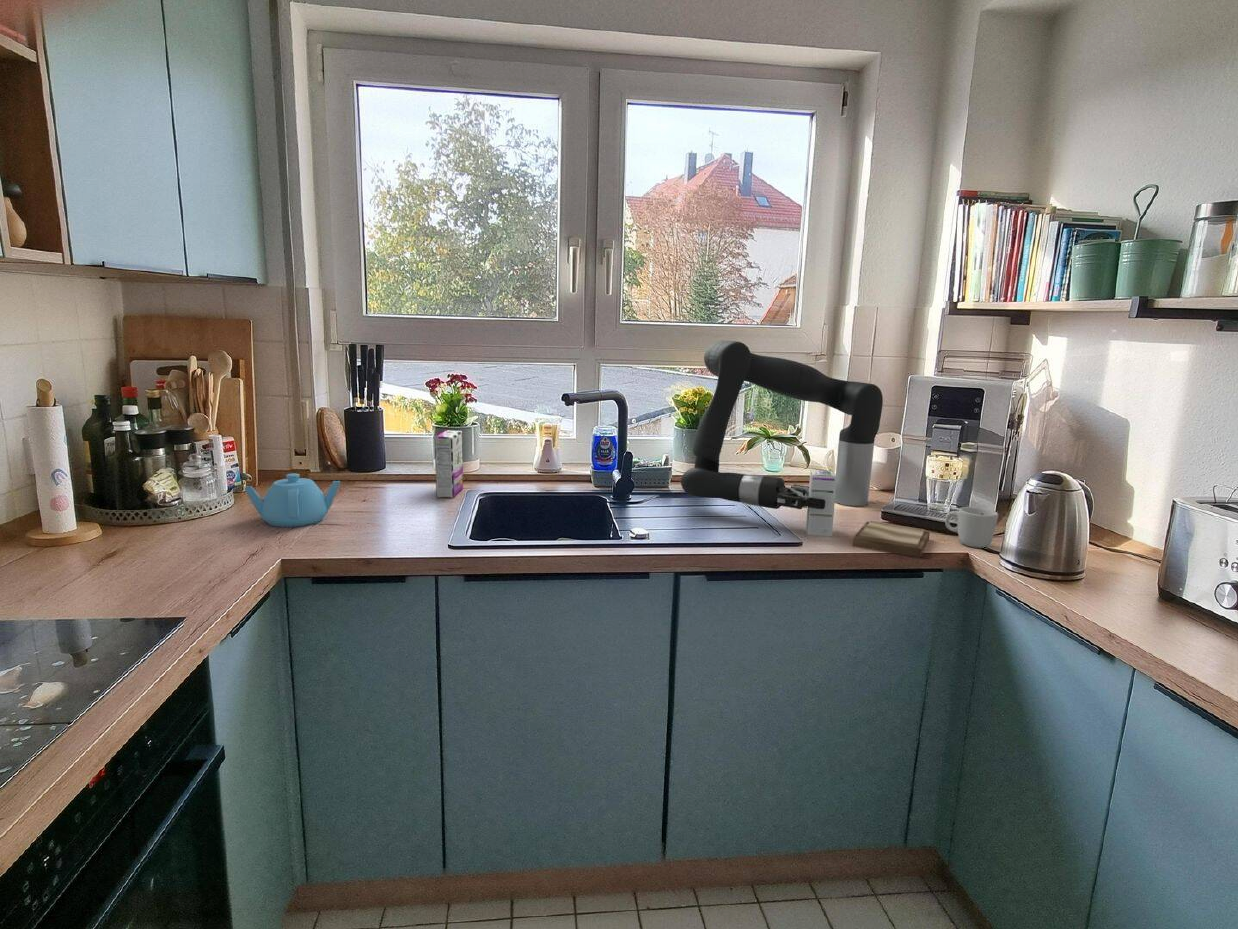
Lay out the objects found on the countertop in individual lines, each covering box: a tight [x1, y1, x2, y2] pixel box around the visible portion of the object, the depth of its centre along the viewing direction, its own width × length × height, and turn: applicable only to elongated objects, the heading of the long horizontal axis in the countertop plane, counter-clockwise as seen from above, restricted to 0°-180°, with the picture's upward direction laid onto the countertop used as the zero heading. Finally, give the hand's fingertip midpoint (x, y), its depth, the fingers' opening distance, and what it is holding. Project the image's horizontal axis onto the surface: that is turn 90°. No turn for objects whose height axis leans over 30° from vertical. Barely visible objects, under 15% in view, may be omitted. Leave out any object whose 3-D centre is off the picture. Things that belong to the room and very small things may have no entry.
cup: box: [944, 506, 999, 549], centre depth 161 cm, size 11×8×8 cm
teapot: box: [244, 472, 341, 528], centre depth 161 cm, size 15×15×11 cm
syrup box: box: [805, 469, 836, 538], centre depth 165 cm, size 6×6×14 cm
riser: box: [852, 520, 931, 559], centre depth 160 cm, size 16×14×2 cm
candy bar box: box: [434, 429, 464, 499], centre depth 191 cm, size 11×5×16 cm, turn 179°
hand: (829, 500), depth 164 cm, fingers open, 8 cm apart
